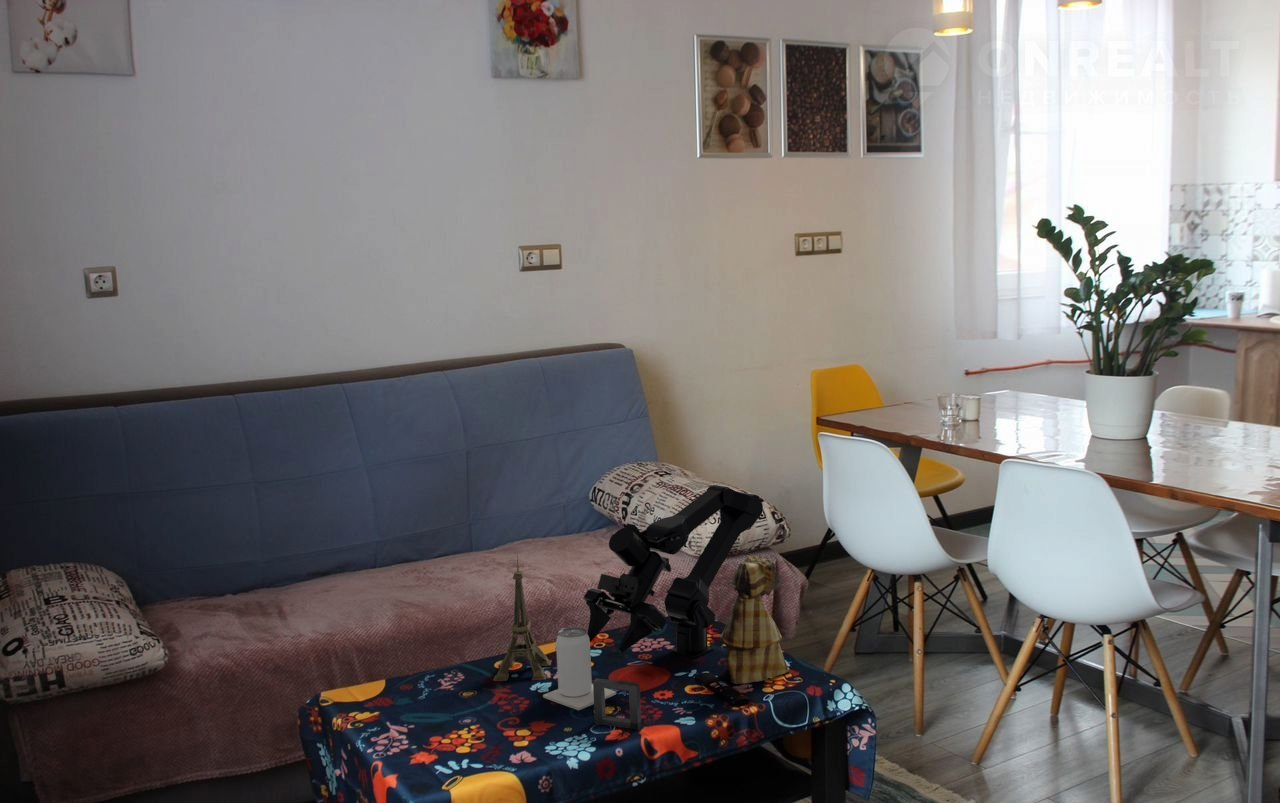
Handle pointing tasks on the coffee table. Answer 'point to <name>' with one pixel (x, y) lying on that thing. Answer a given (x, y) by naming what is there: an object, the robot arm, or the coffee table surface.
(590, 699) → the pad
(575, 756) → the coffee table surface
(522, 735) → the coffee table surface
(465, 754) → the coffee table surface
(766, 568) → the plush toy
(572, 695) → the can
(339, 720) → the coffee table surface
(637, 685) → the dark grey square frame
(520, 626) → the eiffel tower
